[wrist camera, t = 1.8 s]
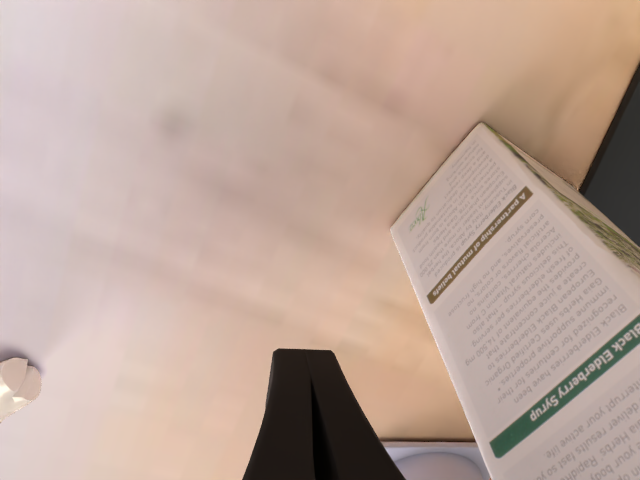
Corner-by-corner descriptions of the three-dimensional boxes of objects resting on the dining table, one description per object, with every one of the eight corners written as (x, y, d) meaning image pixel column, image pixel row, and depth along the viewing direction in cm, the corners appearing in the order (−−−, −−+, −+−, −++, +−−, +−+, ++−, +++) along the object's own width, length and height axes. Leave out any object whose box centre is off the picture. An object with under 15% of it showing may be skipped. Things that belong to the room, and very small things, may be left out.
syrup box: (383, 229, 22) (539, 655, 10) (481, 111, 19) (851, 486, 7) (482, 283, 24) (709, 686, 12) (582, 183, 21) (993, 563, 10)
